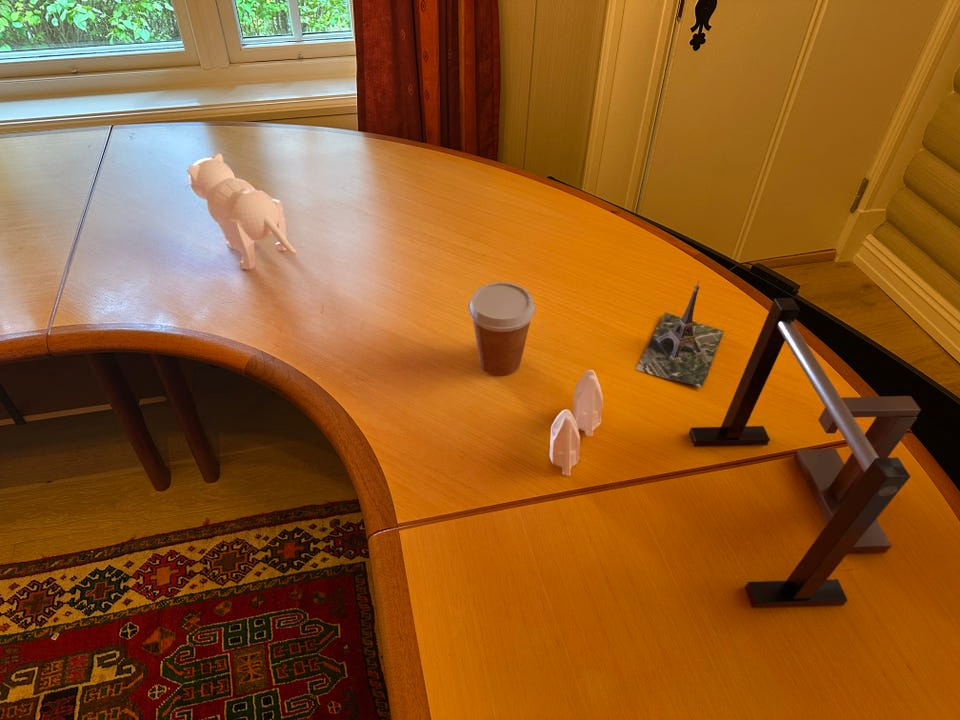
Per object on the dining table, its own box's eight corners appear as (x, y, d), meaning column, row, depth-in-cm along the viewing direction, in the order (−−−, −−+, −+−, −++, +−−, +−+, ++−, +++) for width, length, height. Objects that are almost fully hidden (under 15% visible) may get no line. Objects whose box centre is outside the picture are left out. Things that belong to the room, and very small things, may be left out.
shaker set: (579, 406, 86) (588, 348, 79) (606, 417, 85) (619, 360, 77) (540, 463, 79) (546, 406, 71) (569, 477, 77) (578, 420, 70)
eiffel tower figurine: (702, 392, 88) (728, 321, 79) (635, 369, 92) (652, 299, 83) (723, 332, 98) (748, 264, 89) (661, 314, 102) (680, 246, 92)
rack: (843, 605, 65) (960, 477, 49) (752, 608, 65) (840, 480, 49) (760, 431, 83) (827, 296, 67) (688, 433, 83) (738, 297, 67)
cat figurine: (323, 260, 113) (306, 177, 102) (281, 288, 107) (257, 202, 96) (235, 222, 124) (210, 142, 112) (191, 245, 117) (160, 163, 106)
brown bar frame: (830, 456, 80) (894, 356, 68) (885, 553, 70) (972, 456, 57) (755, 457, 80) (806, 358, 67) (800, 555, 70) (868, 459, 57)
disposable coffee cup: (517, 336, 98) (521, 274, 89) (540, 375, 91) (546, 313, 83) (461, 348, 95) (459, 287, 87) (480, 390, 89) (480, 327, 81)
